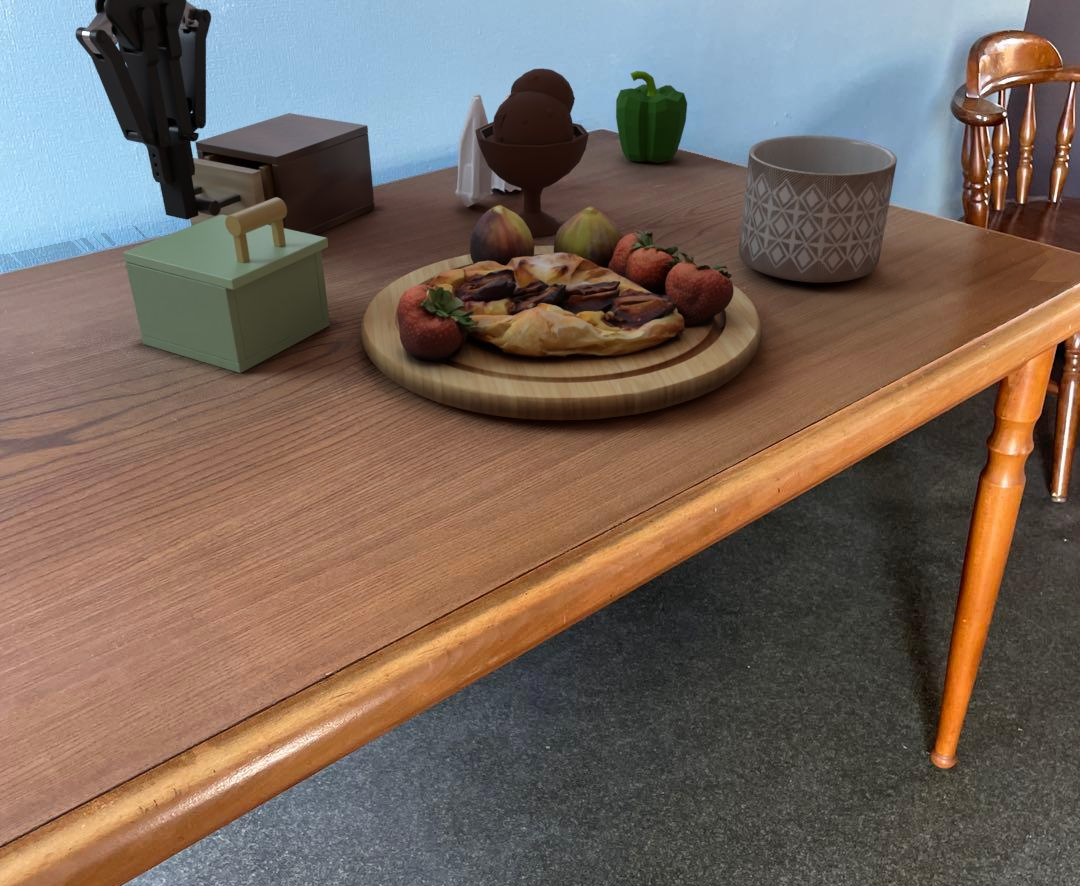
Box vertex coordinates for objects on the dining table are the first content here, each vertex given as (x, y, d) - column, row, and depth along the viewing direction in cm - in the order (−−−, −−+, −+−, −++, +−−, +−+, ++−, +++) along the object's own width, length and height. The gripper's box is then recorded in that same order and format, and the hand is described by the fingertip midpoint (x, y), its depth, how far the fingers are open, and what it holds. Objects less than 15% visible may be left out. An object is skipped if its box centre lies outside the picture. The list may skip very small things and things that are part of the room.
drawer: (231, 258, 101) (218, 185, 98) (159, 241, 105) (144, 170, 102) (345, 209, 113) (338, 142, 109) (277, 196, 117) (268, 130, 113)
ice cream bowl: (487, 209, 116) (483, 58, 108) (591, 213, 115) (595, 61, 106) (468, 242, 107) (462, 81, 99) (581, 247, 106) (584, 84, 98)
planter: (905, 279, 99) (928, 162, 93) (792, 303, 94) (809, 182, 88) (818, 237, 108) (833, 129, 102) (711, 257, 104) (721, 145, 98)
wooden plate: (448, 470, 71) (441, 354, 67) (315, 301, 95) (303, 207, 90) (842, 376, 82) (860, 271, 78) (635, 246, 106) (639, 160, 102)
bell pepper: (687, 151, 134) (694, 65, 129) (679, 170, 128) (685, 79, 122) (620, 147, 136) (623, 61, 130) (608, 165, 130) (611, 76, 124)
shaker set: (478, 217, 114) (474, 106, 108) (444, 211, 116) (438, 101, 109) (533, 186, 123) (532, 82, 116) (501, 181, 124) (498, 78, 118)
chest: (330, 325, 91) (320, 245, 87) (240, 373, 83) (225, 288, 79) (236, 300, 95) (223, 223, 91) (143, 344, 88) (124, 262, 84)
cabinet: (289, 246, 107) (276, 156, 102) (210, 228, 111) (194, 141, 106) (375, 208, 116) (367, 125, 111) (299, 193, 121) (289, 112, 116)
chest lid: (328, 247, 87) (322, 191, 84) (233, 290, 79) (223, 230, 77) (223, 223, 91) (214, 170, 89) (124, 261, 84) (111, 205, 81)
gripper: (156, -85, 94) (204, 190, 107) (27, -72, 85) (98, 228, 98) (219, -81, 91) (261, 202, 104) (93, -67, 81) (157, 242, 95)
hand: (182, 214), depth 101 cm, fingers closed
